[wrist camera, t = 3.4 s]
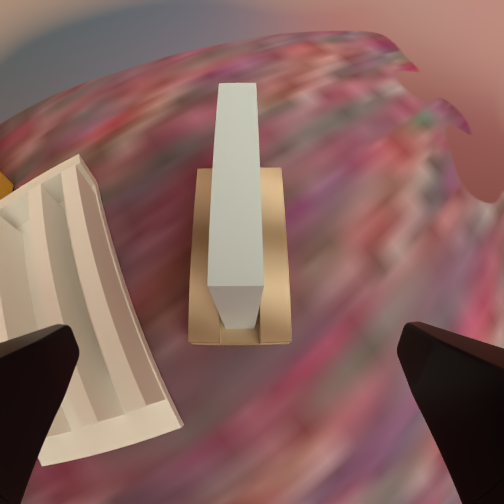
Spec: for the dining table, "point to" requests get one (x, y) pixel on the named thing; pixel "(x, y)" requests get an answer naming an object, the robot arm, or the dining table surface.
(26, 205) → the rack
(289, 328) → the stand
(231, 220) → the pale grey tapered slat
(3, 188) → the game box
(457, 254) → the dining table surface
